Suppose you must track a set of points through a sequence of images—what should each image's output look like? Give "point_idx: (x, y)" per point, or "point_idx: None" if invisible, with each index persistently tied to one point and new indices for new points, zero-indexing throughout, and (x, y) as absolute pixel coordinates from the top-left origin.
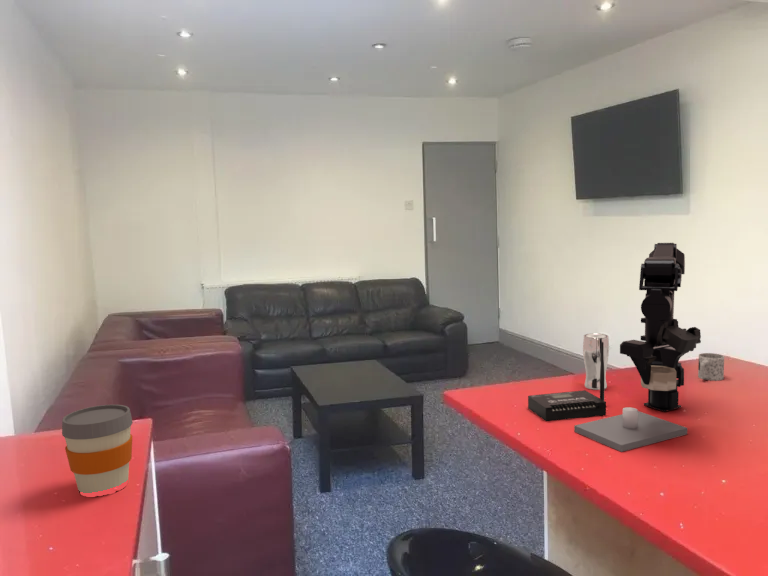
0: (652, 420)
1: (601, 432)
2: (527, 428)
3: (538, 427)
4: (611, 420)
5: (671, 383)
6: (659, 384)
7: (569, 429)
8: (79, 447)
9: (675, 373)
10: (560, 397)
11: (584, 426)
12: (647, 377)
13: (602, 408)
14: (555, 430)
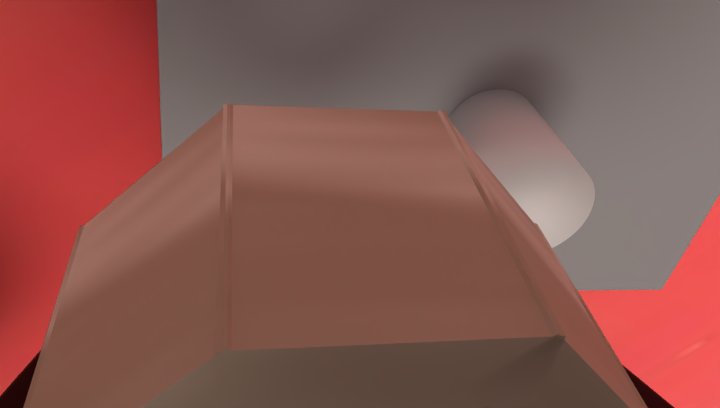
0: None
1: (694, 159)
2: (709, 365)
3: (674, 357)
4: None
5: (365, 170)
6: (532, 238)
7: (623, 293)
8: None
9: (254, 310)
10: None
11: (648, 259)
12: (660, 400)
13: None
14: (671, 309)
